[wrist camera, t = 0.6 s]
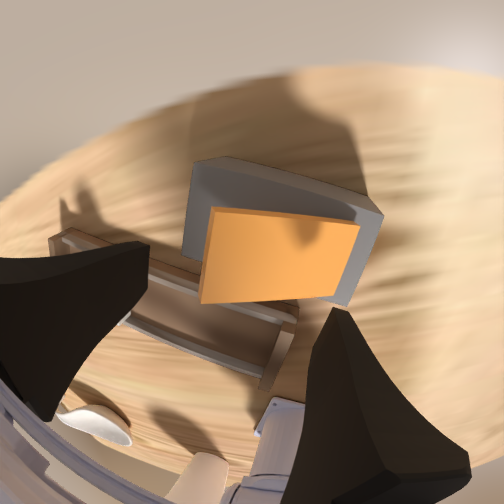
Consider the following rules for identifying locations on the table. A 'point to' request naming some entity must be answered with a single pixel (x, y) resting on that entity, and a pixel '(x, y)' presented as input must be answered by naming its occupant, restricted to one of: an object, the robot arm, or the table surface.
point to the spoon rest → (98, 423)
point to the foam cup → (201, 481)
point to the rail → (202, 317)
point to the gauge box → (278, 208)
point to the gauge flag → (272, 255)
